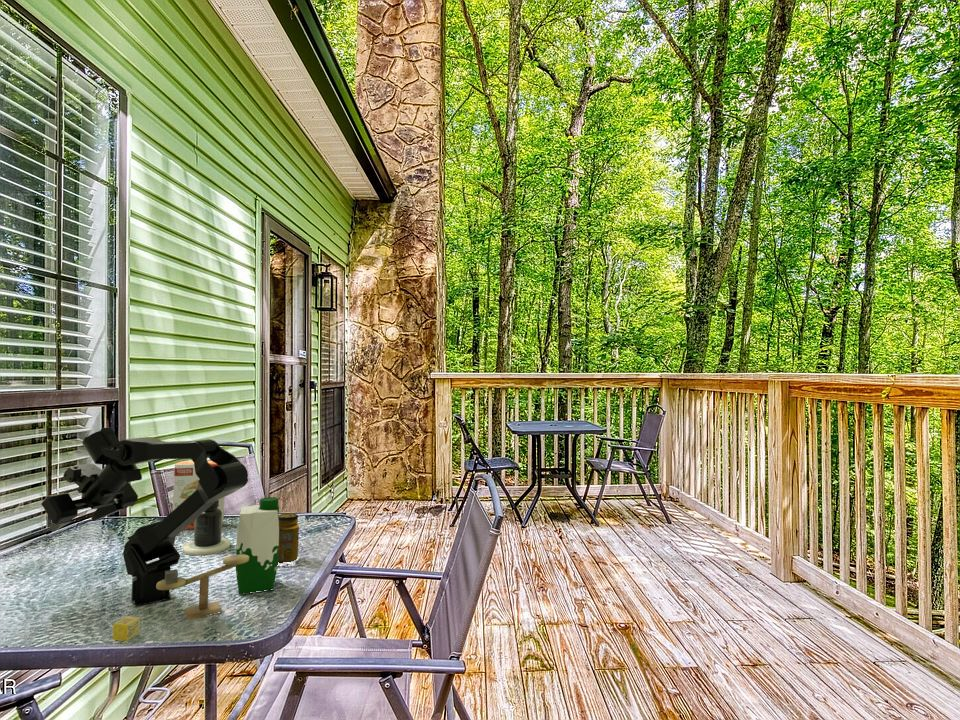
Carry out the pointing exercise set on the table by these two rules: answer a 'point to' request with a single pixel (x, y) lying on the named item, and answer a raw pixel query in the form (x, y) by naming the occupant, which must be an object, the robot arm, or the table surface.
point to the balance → (204, 607)
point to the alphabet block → (126, 628)
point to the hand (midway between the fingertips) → (72, 524)
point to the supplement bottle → (208, 527)
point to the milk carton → (258, 546)
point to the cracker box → (188, 485)
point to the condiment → (288, 537)
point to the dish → (205, 548)
